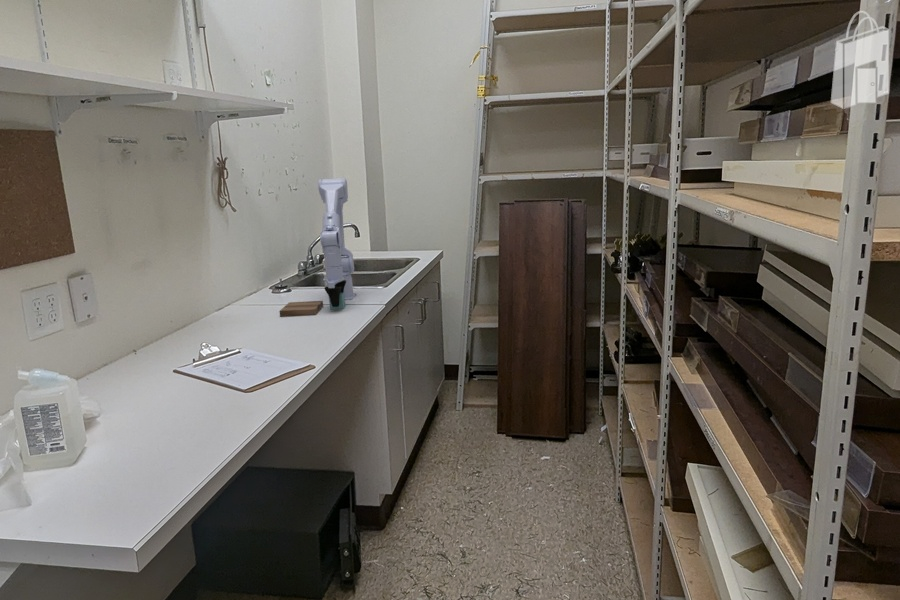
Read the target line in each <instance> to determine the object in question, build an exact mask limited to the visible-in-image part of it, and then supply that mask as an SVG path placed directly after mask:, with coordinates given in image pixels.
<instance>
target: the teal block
mask: <svg viewBox="0 0 900 600" xmlns="http://www.w3.org/2000/svg"><path fill="white" fill-rule="evenodd" d="M328 300H329V310H330V311H341V310H345V308H346V300H345V295H344V293H340V300H339V307H333V306H332V304H331V301H330V298H329V297H328Z"/></svg>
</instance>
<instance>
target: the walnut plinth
mask: <svg viewBox="0 0 900 600" xmlns="http://www.w3.org/2000/svg"><path fill="white" fill-rule="evenodd" d="M322 308H324V301H323V300H310V301H309V300H308V301H294V302H293V301H291V302H288V303H287V304H286V305H284V306H283V307H282V308H281V309H280V310H279V311H278V312H279V318H285V317H286V318H287V317H302V316H316V315H317V314H318V313H319V312H320V310H322Z"/></svg>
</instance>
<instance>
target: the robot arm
mask: <svg viewBox="0 0 900 600" xmlns="http://www.w3.org/2000/svg"><path fill="white" fill-rule="evenodd" d="M317 185H318V191H319V192H318V193H319V195H320V198H321V201H322V202H323V203H324V204H325V211H326V212H325V214H323V215H322V232H320V235H319V238H320V239H319V240H320V246H321V250H322V253H323V258H324V268H325V278H323V279H322V281H323V282H326V283H327V286H325V287H324V290H325V292H326V294H327V295H328V299H329V298H330V301H331V304H332V306H333V307H339V300H340V293H344V295H345V301H347V300H353V299H354V297H355V296H356V295H357V293H356V292H354V287H353V278H352V273H354V271H355V262H354V254H353V253H352V251H351V250H349V249H347V248H346V247H345V245H346V244H345V233H344V231H345V230H344V215H343V213H344V212H343V209H344V204H345V203H347V202H348V199H349V192H348V182H347V179H346V177H340V178H338V177H336V178H320V179H319V180H318V183H317Z"/></svg>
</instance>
